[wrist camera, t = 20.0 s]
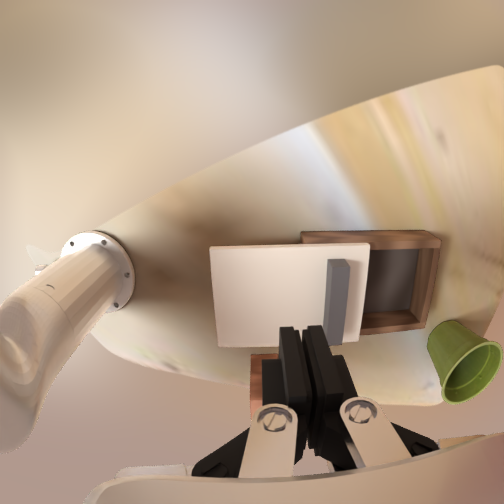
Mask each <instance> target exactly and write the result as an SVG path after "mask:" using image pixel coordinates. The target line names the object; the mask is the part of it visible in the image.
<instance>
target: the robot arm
mask: <svg viewBox="0 0 504 504" xmlns="http://www.w3.org/2000/svg"><path fill="white" fill-rule="evenodd" d="M105 240H106V241H107V242H106V241H105ZM35 273H36V275H35V276H34V277H32V278H31V279H30V280H28V281H27V282H26V283H24V284H23V285H21V286H20V287H19V288H17V289H16V290H15V291H14V292H12V293H11V294H10V295H9V296H8V297H7V298H6V299H5V300H4V301H3V303H2V304H1V306H0V454H3V453H9V452H12V451H14V450H16V449H18V448H19V447H20V446H21V445H22V444H23V443H24V442H25V441H26V440H27V439H28V438H29V436H30V434H31V433H32V431H33V429H34V427H35V425H36V423H37V420H38V418H39V415H40V412H41V409H42V407H43V403H44V401H45V398H46V395H47V393H48V391H49V389H50V387H51V385H52V383H53V382H54V380H55V378H56V377H57V375H58V374H59V372H60V371H61V369H62V368H63V366H64V365H65V363H66V362H67V361H68V359H69V358H70V357H71V355H72V354H73V352H74V351H75V350H76V349H77V347H78V346H79V345H80V343H81V342H82V341H83V340H84V338H85V337H86V336H87V334H88V333H89V332H90V331H91V329H92V328H93V327H94V325H95V324H96V323H97V322H98V320H99V319H100V318H101V317H102V315H103V314H104V313H111V312H114V311H117V310H119V309H120V308H122V307H123V306H124V305H125V304H126V303H127V302H128V300H129V299H130V297H131V295H132V293H133V290H134V286H135V274H134V269H133V265H132V262H131V260H130V258H129V256H128V254H127V253H126V251H125V250H124V248H123V247H122V246H121V245H120V244H119V243H118V242H117V241H116V240H114V239H113V238H112V237H110V236H108V235H106V234H104V233H101V232H97V231H85V232H81V233H79V234H76V235H75V236H73V237H72V238H70V239H69V240H68V241H67V242H66V244H65V246H64V247H63V249H62V252H61V255H60V258H59V259H58V260H56V261H55V262H54V263H52V264H51V265H49V266H48V265H38V266H36V270H35ZM306 440H308V447H309V449H314V453H315V456H321V457H322V458H324V459H326V460H327V466H328V469H329V471H330V473H324V474H314V475H304V476H293V468H294V465H295V464H296V463H297V462H298V461H299V460H300V459H301V458H302V456H303V450H304V449H305V446H306ZM83 504H504V432H501V433H495V434H490V435H473V436H465V437H456V438H446V439H439V440H438V442H434V441H433V440H431V439H430V438H428V437H425V436H423V435H420V434H418V433H415V432H413V431H410V430H408V429H405V428H403V427H401V426H399V425H396V424H394V423H392V422H390V421H389V420H388V418H387V417H386V415H385V413H384V412H383V410H382V409H381V407H380V406H379V405H378V404H377V402H375V401H373V400H372V399H369V398H366V397H358V395H357V392H356V389H355V387H354V384H353V381H352V378H351V376H350V373H349V370H348V368H347V365H346V362H345V360H344V357H343V356H342V355H335V356H332V354H331V351H330V348H329V345H328V342H327V339H326V336H325V333H324V330H323V328H322V325H311V326H307V329H303V330H302V342H301V337H300V333H299V330H294V327H293V326H289V327H280V328H279V359H262V407H260V408H258V409H257V410H256V411H255V412H254V415H253V417H252V421H251V426H250V428H248V429H247V430H245V431H244V432H243V433H241V434H240V435H238V436H237V437H235V438H234V439H232V440H231V441H229V442H228V443H227V444H225V445H223V446H222V447H220V448H219V449H217V450H216V451H214V452H213V453H211V454H210V455H208V456H207V457H205V458H203V459H202V460H200V461H199V462H198V463H197V464H196V465H194V466H185V464H176V465H163V466H142V467H127V468H124V469H122V470H120V471H119V472H118V473H117V474H116V475H115V478H114V479H113V480H110V481H106V482H104V483H102V484H99V485H98V486H96V487H95V488H94V489H93V490H92V491H91V492H90V493H89V494H88V496H87V497H86V499H85V500H84V502H83Z"/></svg>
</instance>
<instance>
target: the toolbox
mask: <svg viewBox="0 0 504 504" xmlns="http://www.w3.org/2000/svg"><path fill="white" fill-rule="evenodd" d="M329 243H368V244H369V245H370V253H369V264H368V274H367V283H366V291H365V299H364V307H363V314H362V321H361V328H360V334H359V336H360V335H370V334H380V333H390V332H398V331H407V330H415V329H422V328H425V325H426V320H427V316H428V312H429V307H430V303H431V298H432V293H433V288H434V283H435V278H436V272H437V266H438V260H439V254H440V247H441V240H440V239H438V238H436V237H435V236H433V235H431V234H430V233H428V232H426V231H425V230H365V231H303V232H301V244H329Z"/></svg>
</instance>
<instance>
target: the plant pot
mask: <svg viewBox="0 0 504 504" xmlns="http://www.w3.org/2000/svg"><path fill="white" fill-rule="evenodd" d="M427 349H428V352H429V354H430V356H431V359H432V361H433V363H434V366H435V368H436V371H437V373H438V376H439V378H440V384H441V387H442V391H441V393H442V398H443V400H444V401H445V402H447V403H448V404H460V403H464V402H466V401H468V400H470V399H472V398H474V397H475V396H477V395H478V394H479V393H481V392H482V391H483V390H484V389H485V388H486V387H487V386H488V385H489V384H490V383H491V382H492V380H493V379H494V377H495V376H496V374H497V372H498V371H499V369H500V366H501V363H502V359H503V350H502V347H501V345H500V344H498V343H497V342H494V341H488V340H487V339H485V338H481V337H480V336H478V335H477V334H475V333H474V332H472V331H470V330H469V329H467V328H466V327H464V326H463V325H461V324H460V323H458V322H456V321H454V320H451V321H447V322H443V323H441V324H440V325H438V326H437V327H436V328H435V329H434V330H433V331H432V333H431V334H430V336H429V338H428V344H427Z"/></svg>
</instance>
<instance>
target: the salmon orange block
mask: <svg viewBox="0 0 504 504" xmlns="http://www.w3.org/2000/svg"><path fill="white" fill-rule="evenodd" d="M262 359H278V356H277V354H259V355H251V373H250V410H251V420H252V417H253V415H254V412H255V411H256V410H257V409H258V408H260V407H262Z"/></svg>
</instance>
